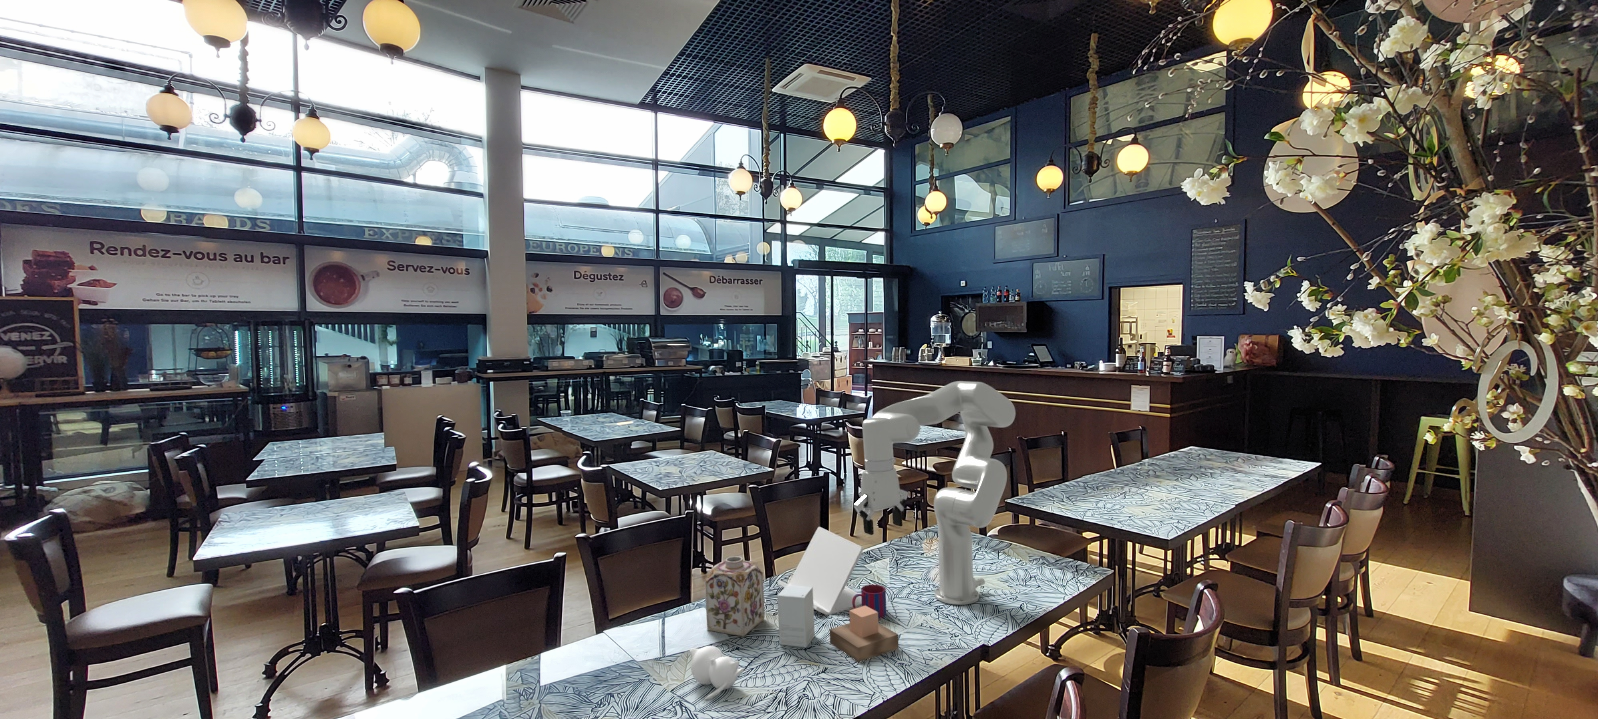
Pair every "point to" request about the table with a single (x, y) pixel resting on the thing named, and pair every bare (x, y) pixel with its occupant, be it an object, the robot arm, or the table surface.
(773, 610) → the table surface
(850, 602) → the tablet stand
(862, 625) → the terracotta cube
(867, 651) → the walnut block
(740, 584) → the decorative jar
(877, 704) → the table surface
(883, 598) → the mug
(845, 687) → the table surface
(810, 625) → the supplement box
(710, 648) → the cat figurine
